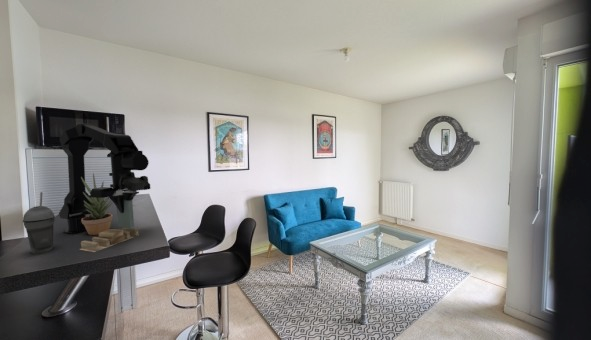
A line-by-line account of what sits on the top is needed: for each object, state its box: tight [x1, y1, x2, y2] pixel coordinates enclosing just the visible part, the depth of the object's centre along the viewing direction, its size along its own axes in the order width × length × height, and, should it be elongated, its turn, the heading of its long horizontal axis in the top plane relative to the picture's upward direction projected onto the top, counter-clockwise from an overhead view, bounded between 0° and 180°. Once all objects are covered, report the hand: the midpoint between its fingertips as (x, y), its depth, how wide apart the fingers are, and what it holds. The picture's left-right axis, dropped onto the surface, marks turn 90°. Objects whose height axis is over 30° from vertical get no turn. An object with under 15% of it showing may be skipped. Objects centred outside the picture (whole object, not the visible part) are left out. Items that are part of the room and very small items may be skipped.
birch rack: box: [79, 227, 140, 253], centre depth 88 cm, size 16×7×4 cm, turn 162°
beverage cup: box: [22, 191, 56, 255], centre depth 80 cm, size 7×7×20 cm
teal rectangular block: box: [116, 200, 135, 229], centre depth 92 cm, size 2×6×10 cm, turn 72°
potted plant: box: [81, 172, 114, 236], centre depth 97 cm, size 10×10×25 cm
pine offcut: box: [98, 228, 124, 239], centre depth 87 cm, size 4×5×2 cm
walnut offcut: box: [109, 235, 126, 246], centre depth 88 cm, size 5×6×2 cm
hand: (124, 212), depth 92 cm, fingers closed on teal rectangular block, 1 cm apart
